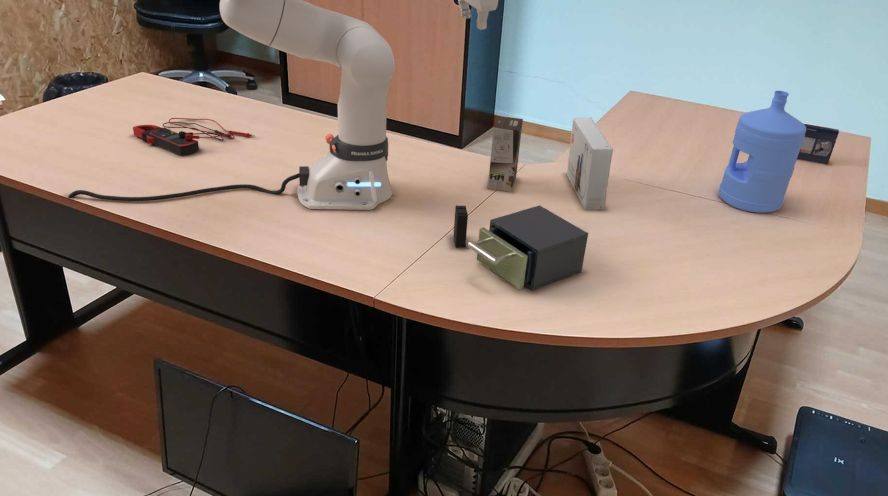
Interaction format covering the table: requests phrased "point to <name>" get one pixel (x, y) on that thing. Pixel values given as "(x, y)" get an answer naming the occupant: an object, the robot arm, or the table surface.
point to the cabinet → (546, 243)
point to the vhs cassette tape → (818, 144)
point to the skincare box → (589, 163)
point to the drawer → (504, 256)
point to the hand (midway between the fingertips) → (473, 23)
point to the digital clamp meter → (178, 137)
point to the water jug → (763, 158)
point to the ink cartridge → (460, 226)
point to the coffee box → (505, 153)
